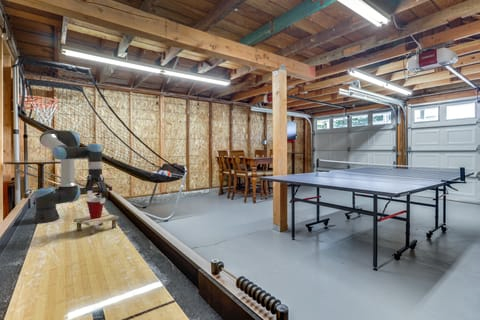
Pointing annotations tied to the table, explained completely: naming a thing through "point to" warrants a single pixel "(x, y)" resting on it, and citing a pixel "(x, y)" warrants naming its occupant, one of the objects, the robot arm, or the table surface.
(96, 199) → the plastic cup
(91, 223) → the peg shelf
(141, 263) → the table surface
